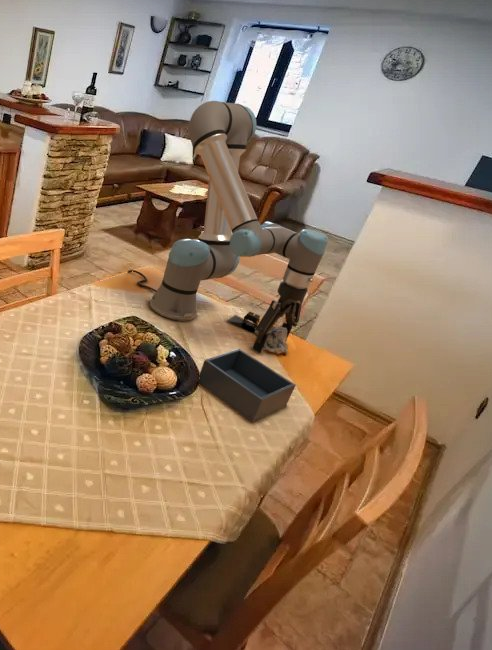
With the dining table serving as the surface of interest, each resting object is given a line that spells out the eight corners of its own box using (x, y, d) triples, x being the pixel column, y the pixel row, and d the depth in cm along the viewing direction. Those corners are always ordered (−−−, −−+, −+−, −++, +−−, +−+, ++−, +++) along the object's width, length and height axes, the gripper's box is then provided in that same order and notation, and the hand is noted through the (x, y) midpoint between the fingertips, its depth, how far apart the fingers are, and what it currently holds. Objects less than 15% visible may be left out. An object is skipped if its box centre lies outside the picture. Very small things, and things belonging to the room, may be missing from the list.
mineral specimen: (263, 365, 154) (272, 345, 161) (288, 361, 148) (297, 340, 154) (248, 340, 152) (258, 322, 158) (272, 335, 146) (282, 316, 152)
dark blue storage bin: (196, 381, 131) (204, 359, 128) (231, 368, 140) (239, 348, 136) (252, 422, 119) (262, 399, 116) (285, 406, 128) (296, 384, 125)
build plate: (270, 332, 164) (275, 320, 162) (262, 339, 159) (267, 326, 157) (235, 316, 171) (239, 304, 168) (226, 322, 165) (231, 310, 163)
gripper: (282, 295, 135) (255, 361, 145) (328, 284, 149) (300, 345, 159) (259, 283, 140) (234, 348, 150) (305, 273, 154) (280, 333, 164)
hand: (268, 346), depth 155 cm, fingers open, 12 cm apart
